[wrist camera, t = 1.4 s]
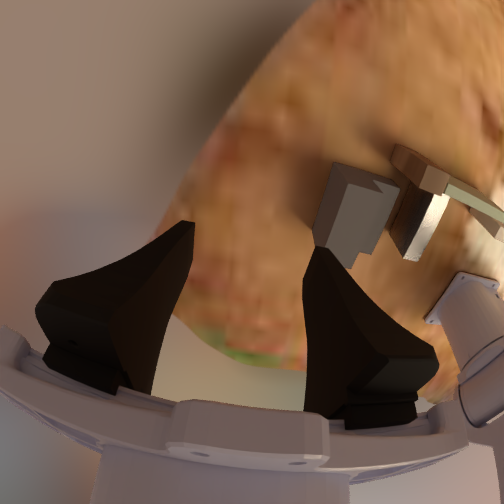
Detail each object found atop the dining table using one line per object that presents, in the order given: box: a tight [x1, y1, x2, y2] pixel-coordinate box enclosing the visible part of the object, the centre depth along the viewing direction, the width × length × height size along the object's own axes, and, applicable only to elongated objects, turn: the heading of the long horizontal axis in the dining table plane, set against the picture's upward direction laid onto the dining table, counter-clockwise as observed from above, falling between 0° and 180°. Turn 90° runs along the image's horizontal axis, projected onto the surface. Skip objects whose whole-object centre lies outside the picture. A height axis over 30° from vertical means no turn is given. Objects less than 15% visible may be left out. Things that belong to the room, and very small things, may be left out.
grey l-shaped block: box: [389, 176, 504, 262], centre depth 18 cm, size 8×7×4 cm
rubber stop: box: [312, 162, 400, 269], centre depth 19 cm, size 5×6×4 cm
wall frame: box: [390, 143, 504, 242], centre depth 16 cm, size 15×2×5 cm, turn 72°
